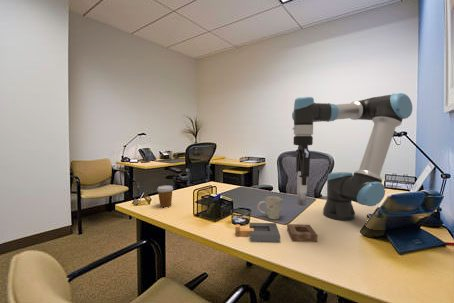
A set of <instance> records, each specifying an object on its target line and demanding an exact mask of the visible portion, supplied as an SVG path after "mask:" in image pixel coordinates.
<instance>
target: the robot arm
mask: <svg viewBox="0 0 454 303" xmlns="http://www.w3.org/2000/svg"><path fill="white" fill-rule="evenodd" d="M412 113H413V104H412V100H411V98H410V97H409V96H408V95H407V94H405V93H402V92H401V93H399V92H398V93H392V94H386V95H380V96H375V97H369V98H365V99H361V100H355V101H352V102H350V103H342V104H341V103H338V104H336V103H335V104H334V103H330V102H328V103H325V102H324V103H321V102H319V103H318V102H317V103H316V102H315V99H314V98H313V97H312V96H301V97H297V98H295V99H294V104H293V110H292V113H291V114H292V115H291V116H292V121H293V127H292V130H293V135H294V136H293V145H294V146H297V149H296V150H295V155H296V156H295V158H296V159H295V163H296V164H295V173H296V175H297V178H296V179H297V180H298V171H301V176H299V177H300V193H306V194H307V193H308V177H310V165H311V164H310V162H311V161H310V160H311V154H312V153H311V152H310V150H309V147H308V146H312V145H313V144H314V142H313V140H314V137H313V134H314V123H319V122H328V123H329V122H334V121H337V120H346V119H347V120H348V119H350V120H353V121H357V120H360V121H361V120H363V121H372V122H373V126H372V130H371V134H370V136H369V138H368V142H367V145H366V148H365V151H364V154H363V157H362V160H361V162H360V166H359V168H358V170H356V171H354V173H352V172H348V171H347V172H345V171H342V172H341V171H340V172H338V171H337V172H330V173H328V175H327V180H326V181H327V182H326V191H327V192H326V201H325V204H324V206H323V209H322V210H323V211H322V213H323V216H325V217H327V218H329V219H333V220H337V221H353V220H355V218H356V213H355V210H354V205H353V204H352V202H355V203H356V204H359V205H362V206H366V207H375V206H377V205H378V204H380V203H381V202H382V201H383V199H384V198H385V194H386V187H385V185H384V184H383V179H382V177H381V172H382V170H383V167H384V163H385V160H386V158H387V154H388V152H389V149H390V146H391V142H392V140H393V137H394V133H395V131H396V128H397V127H399V126H401V125H402V122H403V120H406V119H408V118H410V117H411V115H412Z"/></svg>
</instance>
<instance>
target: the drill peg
mask: <svg viewBox="0 0 454 303" xmlns="http://www.w3.org/2000/svg"><path fill="white" fill-rule="evenodd" d="M297 175H298V180H297V181H296V182H297V183H296V184H297V185H296V188H297V189H296V190H297V193H296V204H297V205H298V206H303V207H304V206H307V193H300V177H299V176H301V171H298V174H297Z"/></svg>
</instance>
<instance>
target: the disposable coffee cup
mask: <svg viewBox="0 0 454 303" xmlns="http://www.w3.org/2000/svg"><path fill="white" fill-rule="evenodd" d="M156 190H157V195H158V200H159V206H161V207H168V208H170V207H171V206H172V199H173V191H174V188H173V185H160V186H158V187H157V189H156ZM169 206H170V207H169ZM161 207H160V208H161Z"/></svg>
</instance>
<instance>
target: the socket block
mask: <svg viewBox="0 0 454 303" xmlns="http://www.w3.org/2000/svg"><path fill="white" fill-rule="evenodd" d="M248 228H254V231H250V236H249V239H250V240H249V241H250V242H251V243H252V242H257V243H281V234H280V231H279V227H278V225H277V223H276V222H249V226H248Z"/></svg>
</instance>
